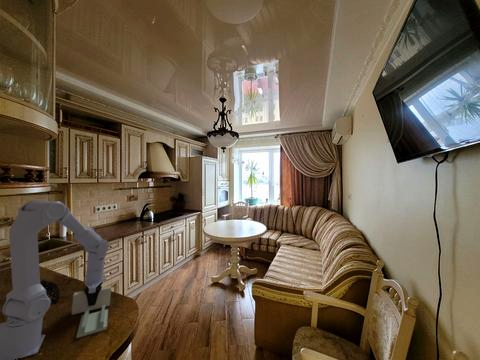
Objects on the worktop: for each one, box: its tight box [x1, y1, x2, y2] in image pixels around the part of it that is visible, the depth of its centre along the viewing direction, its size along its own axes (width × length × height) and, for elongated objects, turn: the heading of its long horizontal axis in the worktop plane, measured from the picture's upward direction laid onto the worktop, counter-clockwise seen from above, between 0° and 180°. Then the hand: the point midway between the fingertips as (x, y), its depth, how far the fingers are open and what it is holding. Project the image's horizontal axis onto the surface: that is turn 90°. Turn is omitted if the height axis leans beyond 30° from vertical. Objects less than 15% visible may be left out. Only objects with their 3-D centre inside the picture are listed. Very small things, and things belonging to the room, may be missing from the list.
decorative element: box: [40, 278, 61, 306], centre depth 84 cm, size 22×5×6 cm, turn 60°
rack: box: [76, 305, 109, 339], centre depth 68 cm, size 8×11×3 cm
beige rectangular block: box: [71, 285, 112, 315], centre depth 76 cm, size 12×2×7 cm, turn 123°
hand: (92, 303), depth 76 cm, fingers closed on beige rectangular block, 2 cm apart
